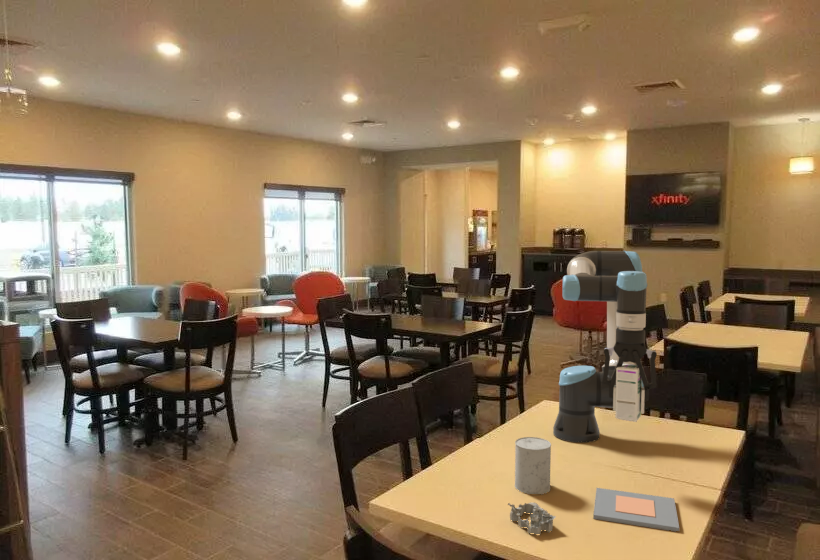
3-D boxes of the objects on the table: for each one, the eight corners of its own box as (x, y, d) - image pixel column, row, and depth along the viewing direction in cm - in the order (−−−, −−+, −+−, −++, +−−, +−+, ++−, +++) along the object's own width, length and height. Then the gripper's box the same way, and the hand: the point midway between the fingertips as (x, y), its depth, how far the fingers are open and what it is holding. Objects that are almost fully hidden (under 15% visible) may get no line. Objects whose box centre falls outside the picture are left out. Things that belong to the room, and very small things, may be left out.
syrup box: (637, 422, 160) (638, 369, 158) (614, 418, 163) (616, 366, 162) (641, 416, 165) (643, 365, 163) (619, 413, 168) (620, 362, 166)
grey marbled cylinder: (552, 482, 164) (552, 439, 163) (548, 497, 155) (549, 451, 154) (517, 477, 167) (518, 435, 166) (511, 492, 158) (512, 447, 157)
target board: (593, 518, 144) (593, 513, 143) (596, 491, 159) (596, 486, 158) (679, 532, 137) (679, 527, 137) (673, 502, 152) (674, 497, 152)
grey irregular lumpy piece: (505, 518, 145) (505, 502, 144) (531, 512, 148) (531, 496, 147) (531, 539, 135) (531, 521, 134) (558, 532, 138) (558, 515, 137)
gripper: (592, 328, 161) (590, 411, 163) (670, 332, 155) (667, 418, 157) (593, 324, 168) (592, 403, 170) (668, 327, 162) (665, 410, 164)
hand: (628, 410), depth 163 cm, fingers closed on syrup box, 6 cm apart
